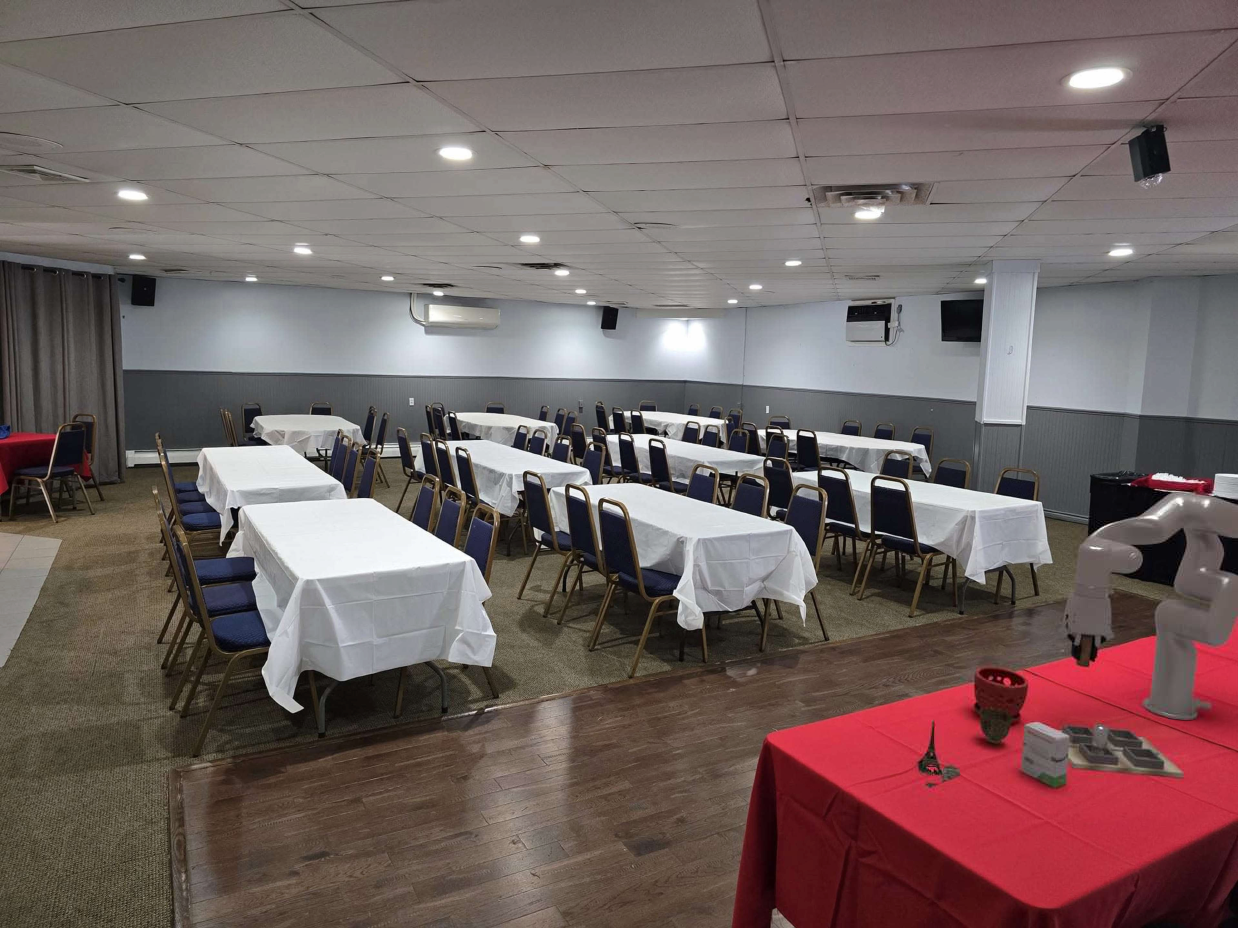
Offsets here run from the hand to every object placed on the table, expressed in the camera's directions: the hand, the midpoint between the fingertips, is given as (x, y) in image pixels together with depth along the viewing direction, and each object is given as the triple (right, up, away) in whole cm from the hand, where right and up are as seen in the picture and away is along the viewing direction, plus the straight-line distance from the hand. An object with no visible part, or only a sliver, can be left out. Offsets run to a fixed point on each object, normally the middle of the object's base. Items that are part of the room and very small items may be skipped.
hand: (1083, 658), depth 204 cm
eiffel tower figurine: (-48, -22, -20) cm, 56 cm away
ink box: (-23, -22, -22) cm, 39 cm away
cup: (-26, -20, -6) cm, 34 cm away
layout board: (0, -21, -11) cm, 24 cm away
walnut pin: (0, -2, 0) cm, 2 cm away
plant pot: (-18, -19, +9) cm, 27 cm away
